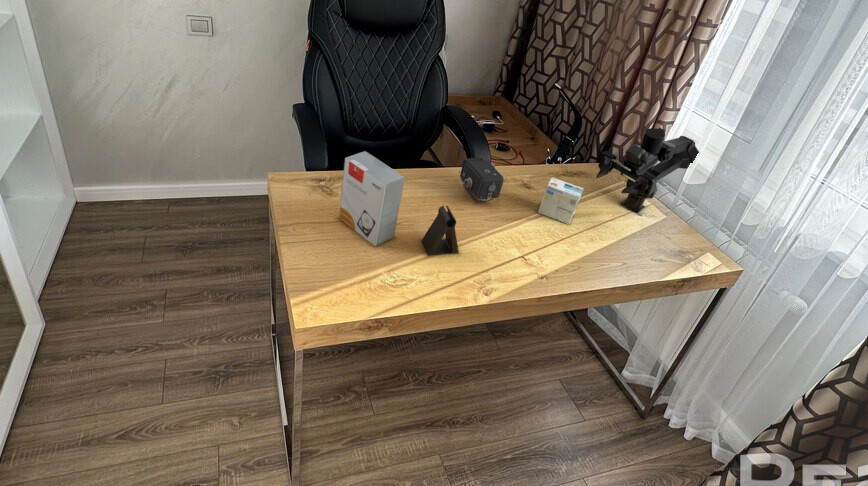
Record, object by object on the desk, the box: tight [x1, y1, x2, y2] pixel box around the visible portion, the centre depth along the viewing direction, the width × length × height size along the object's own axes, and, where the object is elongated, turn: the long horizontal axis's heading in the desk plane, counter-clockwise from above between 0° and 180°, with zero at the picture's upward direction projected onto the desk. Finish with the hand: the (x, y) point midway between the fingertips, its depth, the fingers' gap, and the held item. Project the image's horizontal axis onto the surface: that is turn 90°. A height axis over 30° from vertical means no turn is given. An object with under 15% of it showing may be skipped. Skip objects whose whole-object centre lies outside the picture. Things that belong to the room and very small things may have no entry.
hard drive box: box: [338, 150, 406, 247], centre depth 136 cm, size 16×8×20 cm, turn 47°
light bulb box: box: [537, 176, 584, 225], centre depth 162 cm, size 11×7×11 cm, turn 65°
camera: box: [459, 157, 505, 202], centre depth 163 cm, size 11×11×15 cm
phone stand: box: [421, 205, 459, 256], centre depth 137 cm, size 9×6×12 cm, turn 106°
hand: (609, 184), depth 155 cm, fingers open, 9 cm apart
